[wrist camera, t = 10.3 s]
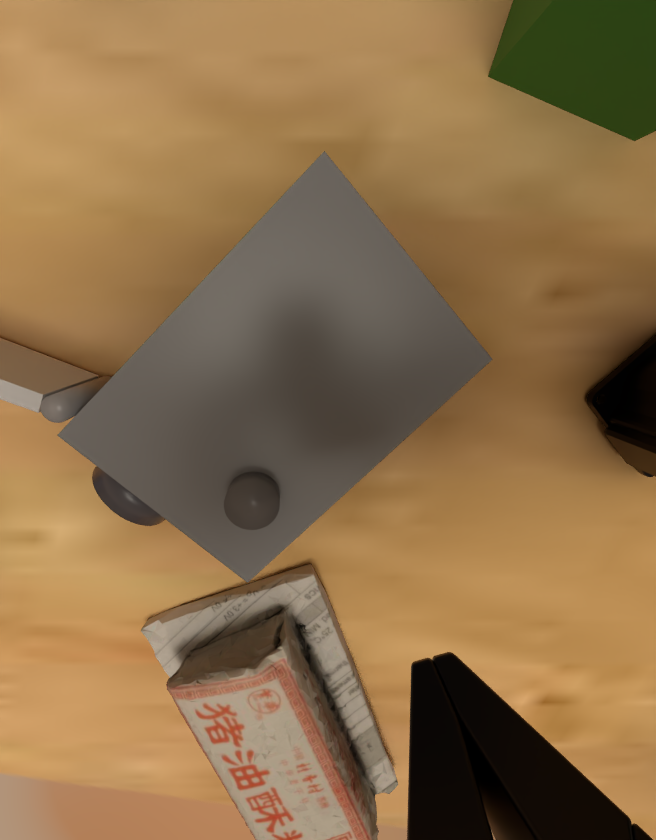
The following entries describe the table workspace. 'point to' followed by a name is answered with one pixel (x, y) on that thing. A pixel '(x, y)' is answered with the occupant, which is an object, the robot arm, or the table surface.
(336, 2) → the table surface
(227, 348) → the block
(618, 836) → the robot arm
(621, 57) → the hardback book
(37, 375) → the side door
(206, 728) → the packaged product
